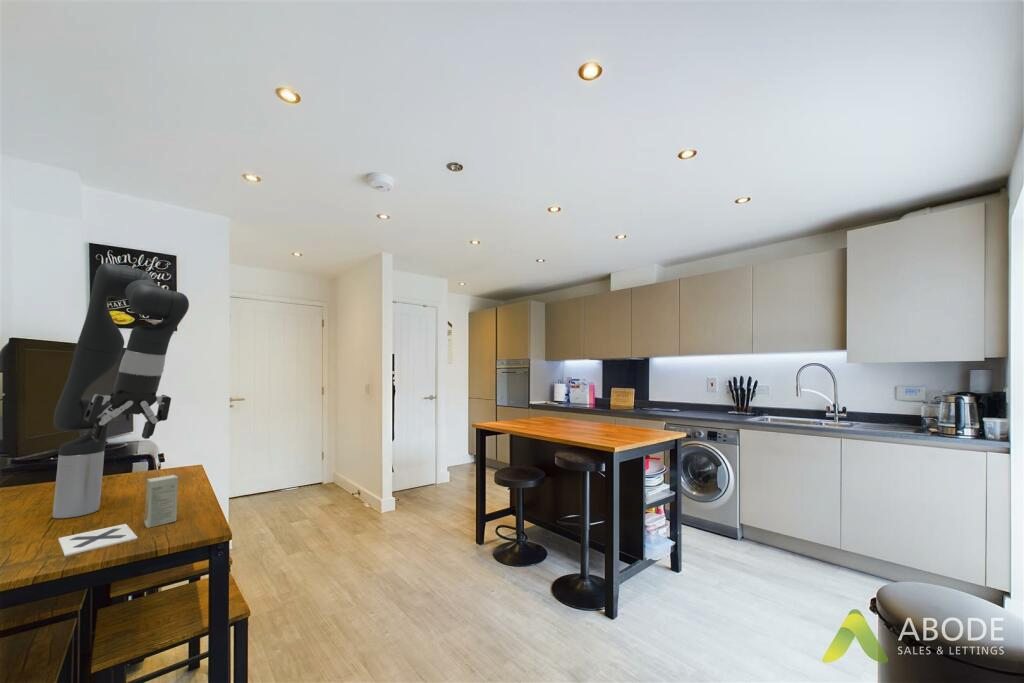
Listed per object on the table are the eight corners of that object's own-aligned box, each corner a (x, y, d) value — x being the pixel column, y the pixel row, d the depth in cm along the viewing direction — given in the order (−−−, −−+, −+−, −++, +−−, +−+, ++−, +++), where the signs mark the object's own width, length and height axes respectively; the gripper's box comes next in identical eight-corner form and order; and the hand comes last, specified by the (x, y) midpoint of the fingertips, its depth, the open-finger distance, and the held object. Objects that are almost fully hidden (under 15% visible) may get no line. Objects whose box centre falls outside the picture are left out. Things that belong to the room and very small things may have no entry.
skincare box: (173, 518, 112) (176, 473, 113) (176, 521, 110) (180, 476, 111) (142, 524, 107) (146, 478, 108) (145, 528, 105) (149, 481, 106)
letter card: (58, 539, 97) (58, 537, 97) (125, 525, 107) (125, 523, 107) (64, 556, 89) (65, 554, 89) (137, 538, 98) (137, 536, 98)
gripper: (169, 370, 101) (151, 433, 100) (93, 365, 88) (72, 437, 87) (184, 376, 98) (167, 441, 97) (108, 371, 85) (86, 446, 84)
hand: (122, 439), depth 92 cm, fingers open, 8 cm apart
